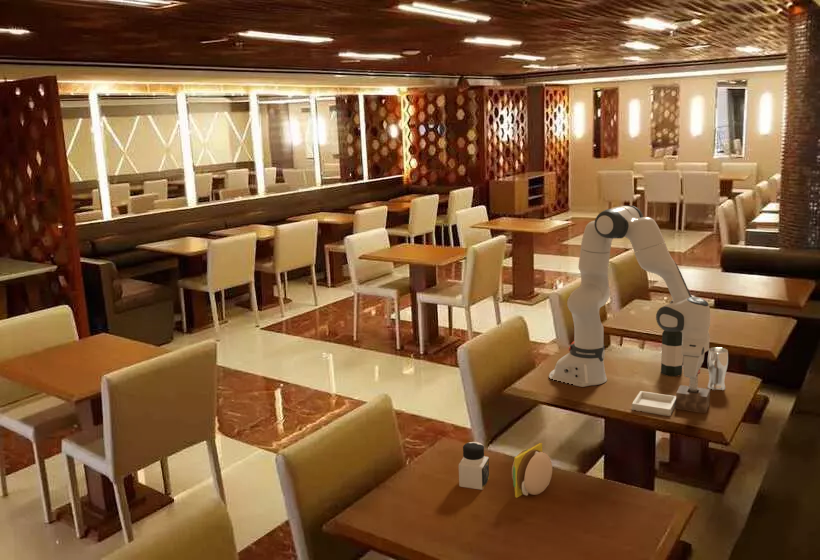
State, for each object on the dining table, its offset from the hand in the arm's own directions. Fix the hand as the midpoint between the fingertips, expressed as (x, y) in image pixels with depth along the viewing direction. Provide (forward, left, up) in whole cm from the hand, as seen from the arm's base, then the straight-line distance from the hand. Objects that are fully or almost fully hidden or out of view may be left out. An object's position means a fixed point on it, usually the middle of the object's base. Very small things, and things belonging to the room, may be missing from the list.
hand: (693, 381), depth 251 cm
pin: (0, 0, -10) cm, 10 cm away
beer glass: (+5, +22, -10) cm, 25 cm away
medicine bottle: (-47, -82, -10) cm, 95 cm away
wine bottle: (-13, +32, -10) cm, 36 cm away
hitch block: (0, 0, -10) cm, 10 cm away
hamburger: (-30, -79, -10) cm, 85 cm away
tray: (-12, -5, -10) cm, 16 cm away
